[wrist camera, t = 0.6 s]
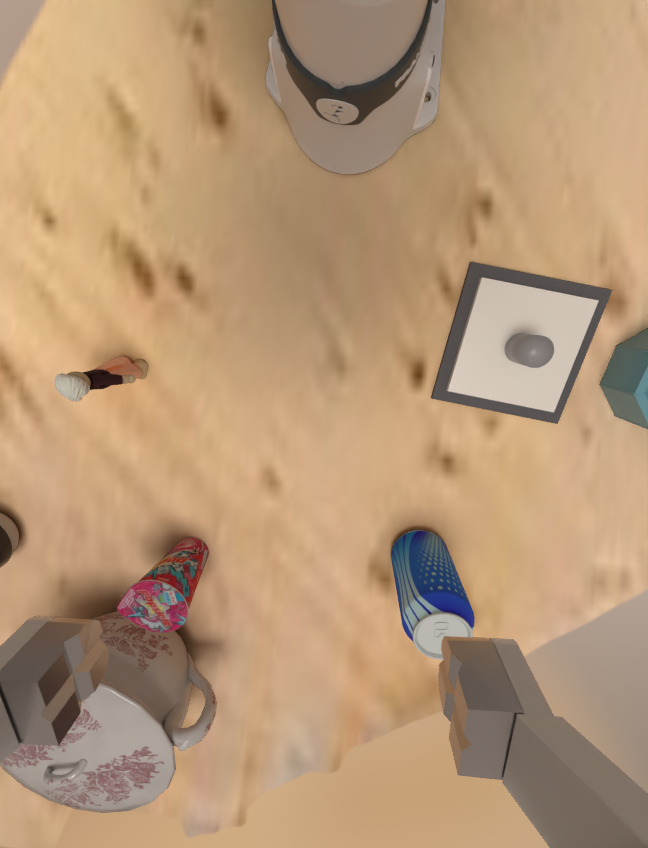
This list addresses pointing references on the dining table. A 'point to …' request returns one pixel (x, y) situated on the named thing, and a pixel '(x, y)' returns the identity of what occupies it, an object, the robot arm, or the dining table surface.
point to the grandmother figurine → (100, 377)
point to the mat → (460, 322)
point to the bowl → (629, 380)
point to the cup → (166, 589)
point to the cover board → (502, 324)
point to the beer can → (429, 592)
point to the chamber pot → (122, 726)
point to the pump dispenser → (7, 539)
